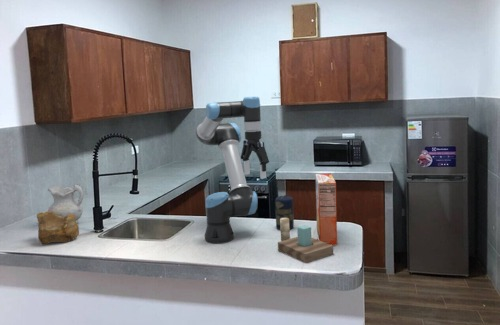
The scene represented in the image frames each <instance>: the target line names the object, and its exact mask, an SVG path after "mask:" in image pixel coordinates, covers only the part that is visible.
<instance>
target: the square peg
mask: <svg viewBox="0 0 500 325" xmlns="http://www.w3.org/2000/svg"><path fill="white" fill-rule="evenodd" d="M297 237H298V245H300V246H302V247H306V246H310V245H312V239H311V238H312V227H311V226H308V225H306V224H305V225H300V226H297Z"/></svg>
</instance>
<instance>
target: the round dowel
mask: <svg viewBox="0 0 500 325" xmlns="http://www.w3.org/2000/svg"><path fill="white" fill-rule="evenodd" d="M279 230H280V241H284V240H288V239H291V233H290V232H291V230H290V227H289V218H281V219H280V229H279Z"/></svg>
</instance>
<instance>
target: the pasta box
mask: <svg viewBox="0 0 500 325" xmlns="http://www.w3.org/2000/svg"><path fill="white" fill-rule="evenodd" d="M334 178H335V177H333V174H332V173H315V201H316V202H315V205H316V208H315V209H316V211H315V212H316V213H315V214H316V233H317V236H318V237H317V238H318V240H319V241H322V242H325V243H327V244H330V245H332V246H334V245H335V246H337V245H338V226H337V225H338V222H337V221H338V218H337V182H336V180H335V179H334Z"/></svg>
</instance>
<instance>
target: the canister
mask: <svg viewBox="0 0 500 325" xmlns="http://www.w3.org/2000/svg"><path fill="white" fill-rule="evenodd" d="M274 203H275V204H274V205H275V226H276V228H277V229H279V230H281V229H280V219H281V218H289V227H290V229H292V228H294V226H295V225H294V224H295V221H294V220H295V219H294V218H295V217H294V198H293V197H292V196H290V195H287V194H286V195H279V196H277V197H275V201H274Z"/></svg>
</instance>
